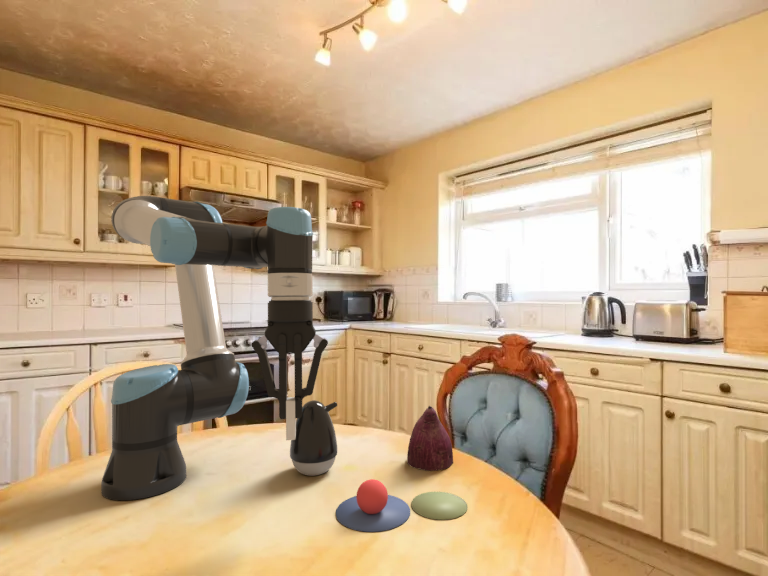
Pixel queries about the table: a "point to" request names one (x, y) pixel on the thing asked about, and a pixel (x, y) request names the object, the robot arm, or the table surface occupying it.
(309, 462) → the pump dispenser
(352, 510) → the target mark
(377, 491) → the ball
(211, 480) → the table surface
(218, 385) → the robot arm
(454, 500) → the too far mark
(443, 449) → the vegetable
